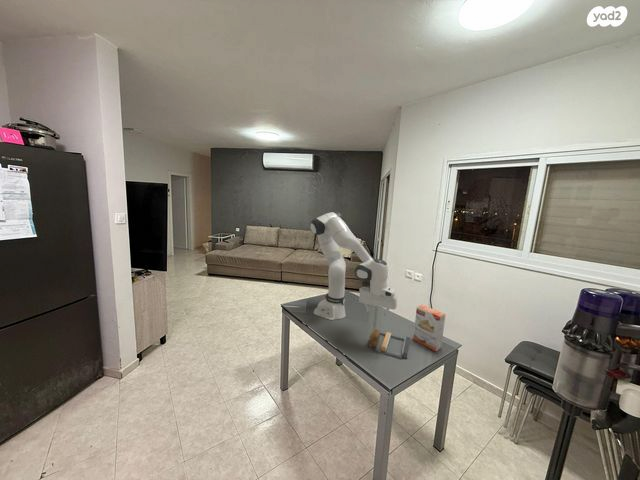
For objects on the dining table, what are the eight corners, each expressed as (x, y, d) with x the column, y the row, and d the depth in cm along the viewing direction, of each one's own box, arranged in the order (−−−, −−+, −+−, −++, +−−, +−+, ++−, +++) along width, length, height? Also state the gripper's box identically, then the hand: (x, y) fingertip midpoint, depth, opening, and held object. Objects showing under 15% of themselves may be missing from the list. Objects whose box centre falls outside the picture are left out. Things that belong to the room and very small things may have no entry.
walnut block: (369, 346, 136) (369, 335, 135) (372, 338, 143) (373, 328, 142) (376, 348, 134) (377, 337, 133) (379, 340, 141) (380, 330, 140)
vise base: (373, 351, 131) (373, 345, 131) (380, 333, 148) (380, 328, 148) (406, 360, 125) (406, 354, 124) (409, 341, 142) (410, 336, 141)
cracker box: (412, 339, 143) (416, 306, 139) (418, 336, 147) (422, 304, 143) (435, 352, 132) (440, 316, 128) (441, 348, 135) (446, 313, 132)
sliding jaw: (381, 351, 131) (381, 346, 131) (386, 336, 145) (386, 331, 145) (386, 352, 130) (386, 347, 130) (390, 337, 144) (391, 332, 144)
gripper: (358, 287, 134) (356, 311, 137) (396, 294, 126) (394, 319, 128) (361, 284, 140) (359, 306, 142) (398, 290, 132) (396, 314, 134)
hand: (376, 313), depth 135 cm, fingers open, 8 cm apart
